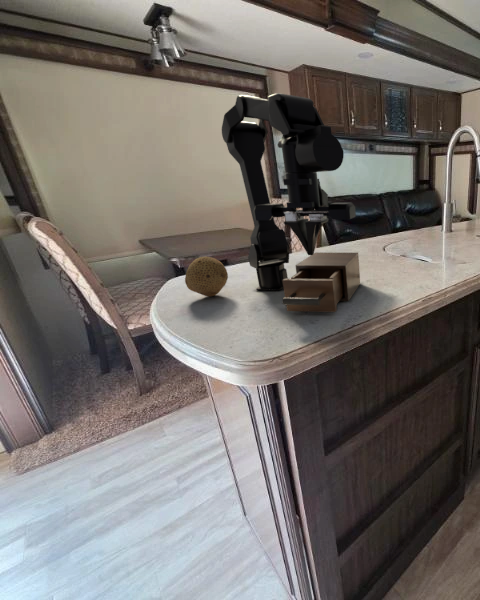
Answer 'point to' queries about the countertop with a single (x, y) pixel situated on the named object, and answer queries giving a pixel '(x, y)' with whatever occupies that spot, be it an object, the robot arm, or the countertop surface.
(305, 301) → the drawer
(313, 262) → the cabinet
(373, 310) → the countertop surface
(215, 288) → the natural sponge
